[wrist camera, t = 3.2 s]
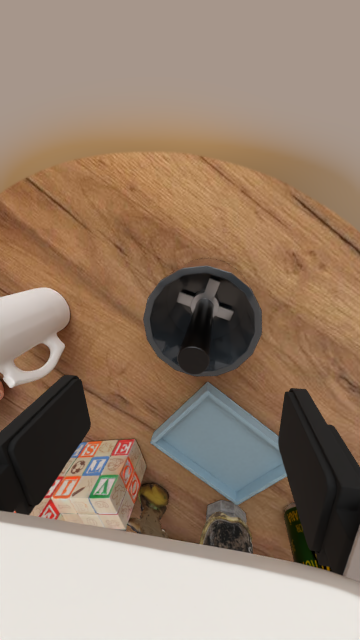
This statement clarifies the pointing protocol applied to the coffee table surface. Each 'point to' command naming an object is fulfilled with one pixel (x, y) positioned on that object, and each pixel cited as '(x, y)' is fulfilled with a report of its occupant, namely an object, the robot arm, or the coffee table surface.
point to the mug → (30, 331)
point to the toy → (150, 511)
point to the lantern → (226, 527)
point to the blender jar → (227, 336)
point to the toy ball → (1, 390)
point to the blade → (200, 327)
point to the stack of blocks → (96, 485)
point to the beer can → (299, 539)
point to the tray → (222, 445)
